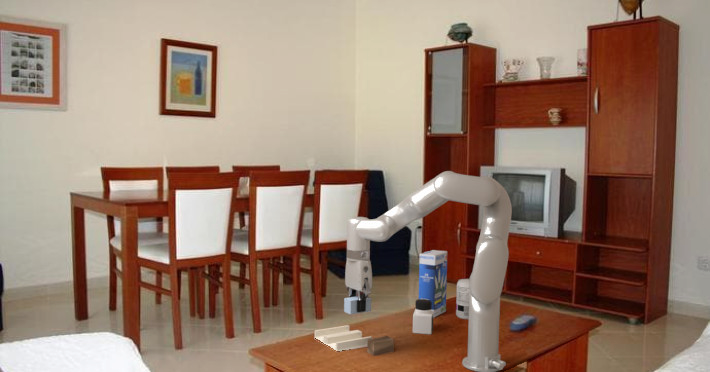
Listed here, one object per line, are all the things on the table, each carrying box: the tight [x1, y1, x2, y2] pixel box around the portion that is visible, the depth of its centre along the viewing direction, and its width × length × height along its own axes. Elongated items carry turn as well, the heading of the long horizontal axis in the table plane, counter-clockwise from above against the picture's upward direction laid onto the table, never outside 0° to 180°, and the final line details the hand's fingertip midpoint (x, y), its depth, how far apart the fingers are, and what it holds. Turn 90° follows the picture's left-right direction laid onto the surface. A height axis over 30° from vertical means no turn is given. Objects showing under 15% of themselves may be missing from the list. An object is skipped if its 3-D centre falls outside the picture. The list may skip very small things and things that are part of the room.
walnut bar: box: [366, 335, 395, 357], centre depth 199 cm, size 4×8×4 cm, turn 122°
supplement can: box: [455, 278, 470, 320], centre depth 244 cm, size 8×8×15 cm
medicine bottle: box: [412, 298, 434, 335], centre depth 223 cm, size 7×7×12 cm
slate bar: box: [343, 295, 372, 316], centre depth 195 cm, size 4×8×4 cm, turn 122°
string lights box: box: [418, 249, 448, 319], centre depth 248 cm, size 13×8×26 cm, turn 149°
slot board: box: [314, 324, 373, 352], centre depth 209 cm, size 16×14×3 cm
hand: (357, 309), depth 195 cm, fingers closed on slate bar, 4 cm apart
